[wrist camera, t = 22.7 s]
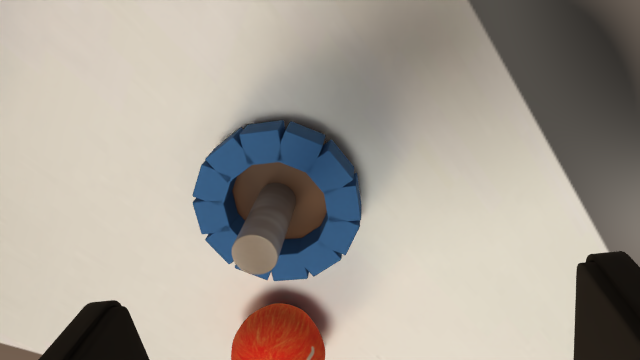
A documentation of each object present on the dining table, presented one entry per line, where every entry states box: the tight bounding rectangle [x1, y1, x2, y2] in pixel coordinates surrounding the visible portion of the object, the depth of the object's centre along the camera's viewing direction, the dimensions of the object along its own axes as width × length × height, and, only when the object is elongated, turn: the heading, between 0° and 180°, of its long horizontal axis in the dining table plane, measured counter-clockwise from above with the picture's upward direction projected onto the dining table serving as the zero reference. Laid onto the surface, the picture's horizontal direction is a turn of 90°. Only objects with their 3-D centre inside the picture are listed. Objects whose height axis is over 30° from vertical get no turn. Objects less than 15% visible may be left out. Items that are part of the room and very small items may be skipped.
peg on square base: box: [232, 133, 327, 275], centre depth 34 cm, size 9×9×10 cm
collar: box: [193, 120, 361, 281], centre depth 35 cm, size 12×12×2 cm
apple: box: [231, 303, 325, 360], centre depth 39 cm, size 8×8×8 cm
